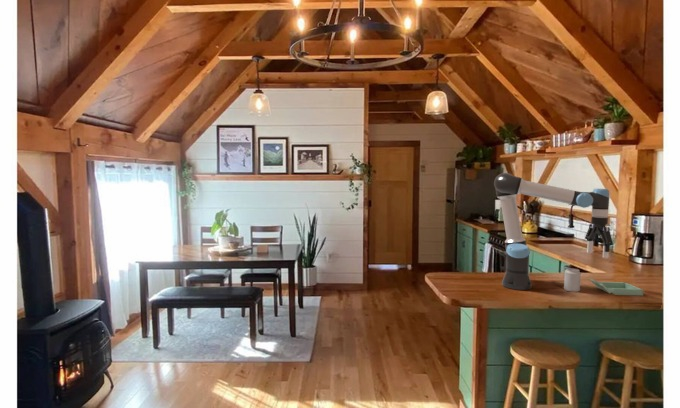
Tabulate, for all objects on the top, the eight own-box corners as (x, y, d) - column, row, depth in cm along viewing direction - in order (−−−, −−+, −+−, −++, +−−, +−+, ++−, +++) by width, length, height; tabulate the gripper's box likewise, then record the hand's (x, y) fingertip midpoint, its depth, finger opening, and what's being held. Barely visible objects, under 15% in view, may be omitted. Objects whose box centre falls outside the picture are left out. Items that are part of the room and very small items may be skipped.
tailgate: (609, 293, 202) (601, 285, 202) (596, 287, 213) (589, 279, 213) (611, 292, 202) (603, 284, 202) (598, 286, 213) (591, 278, 213)
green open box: (614, 295, 200) (615, 289, 200) (598, 287, 214) (599, 281, 214) (642, 296, 199) (643, 289, 199) (625, 288, 213) (625, 282, 213)
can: (565, 287, 214) (566, 266, 213) (580, 290, 209) (581, 268, 208) (562, 291, 208) (563, 269, 207) (578, 293, 203) (579, 271, 202)
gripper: (622, 219, 197) (620, 260, 199) (592, 214, 222) (590, 250, 223) (607, 219, 197) (605, 259, 199) (579, 214, 222) (577, 250, 224)
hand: (597, 255), depth 211 cm, fingers open, 13 cm apart
